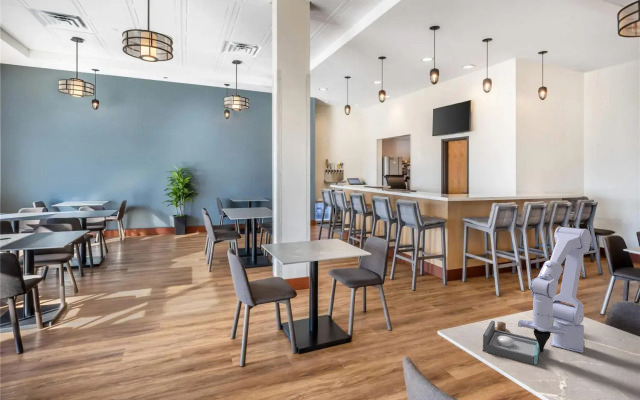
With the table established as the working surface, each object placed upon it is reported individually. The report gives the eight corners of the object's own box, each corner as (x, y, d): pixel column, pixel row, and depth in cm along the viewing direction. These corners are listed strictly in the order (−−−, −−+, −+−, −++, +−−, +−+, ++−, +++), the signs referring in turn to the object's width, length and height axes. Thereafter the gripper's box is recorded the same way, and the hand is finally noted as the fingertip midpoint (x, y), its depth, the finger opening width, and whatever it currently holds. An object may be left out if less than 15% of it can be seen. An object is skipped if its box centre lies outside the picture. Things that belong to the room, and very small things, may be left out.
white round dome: (514, 343, 127) (514, 337, 127) (512, 348, 123) (512, 343, 122) (498, 339, 130) (498, 334, 130) (496, 344, 125) (496, 339, 125)
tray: (540, 346, 126) (540, 337, 126) (536, 364, 114) (537, 355, 113) (495, 335, 135) (495, 327, 135) (487, 351, 123) (487, 343, 122)
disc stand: (510, 330, 140) (510, 322, 140) (508, 336, 135) (508, 327, 135) (494, 327, 144) (494, 319, 144) (491, 332, 139) (492, 323, 139)
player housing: (537, 346, 127) (537, 330, 127) (533, 364, 114) (534, 347, 114) (491, 335, 136) (491, 320, 136) (482, 351, 123) (483, 334, 123)
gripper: (517, 311, 120) (516, 349, 121) (568, 321, 111) (566, 362, 112) (519, 306, 126) (518, 342, 126) (568, 314, 117) (567, 353, 118)
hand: (541, 351), depth 119 cm, fingers closed
